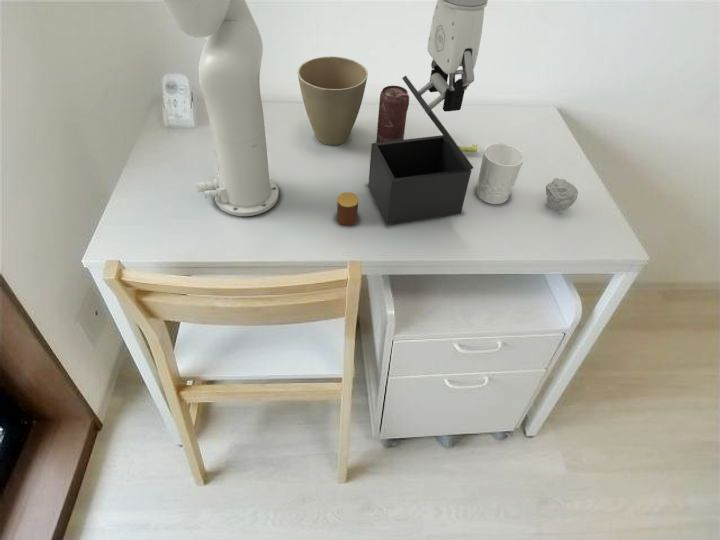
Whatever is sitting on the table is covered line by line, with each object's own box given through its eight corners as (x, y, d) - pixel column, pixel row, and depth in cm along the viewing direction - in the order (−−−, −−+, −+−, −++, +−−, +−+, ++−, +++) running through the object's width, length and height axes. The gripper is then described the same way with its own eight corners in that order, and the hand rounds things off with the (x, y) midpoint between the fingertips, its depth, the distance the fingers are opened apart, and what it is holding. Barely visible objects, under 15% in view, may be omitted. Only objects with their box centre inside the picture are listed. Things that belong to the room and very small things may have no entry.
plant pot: (291, 126, 124) (288, 61, 113) (349, 116, 129) (351, 52, 117) (312, 160, 115) (311, 93, 103) (373, 148, 119) (379, 83, 108)
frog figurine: (532, 200, 109) (542, 173, 104) (562, 197, 110) (573, 169, 105) (546, 219, 105) (558, 192, 100) (577, 215, 106) (590, 188, 101)
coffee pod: (339, 227, 100) (340, 207, 96) (334, 213, 103) (334, 193, 99) (360, 224, 101) (361, 204, 97) (354, 211, 104) (355, 191, 100)
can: (401, 157, 117) (408, 100, 107) (373, 153, 118) (378, 95, 108) (405, 143, 122) (412, 86, 111) (378, 139, 122) (383, 82, 112)
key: (478, 157, 119) (480, 149, 118) (426, 158, 118) (427, 150, 116) (470, 139, 124) (472, 132, 122) (420, 141, 123) (421, 133, 121)
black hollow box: (386, 225, 101) (391, 181, 94) (368, 185, 110) (371, 143, 102) (460, 213, 105) (471, 171, 97) (437, 176, 113) (445, 134, 106)
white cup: (465, 191, 110) (475, 151, 103) (489, 178, 114) (501, 138, 106) (494, 211, 106) (507, 170, 99) (518, 197, 110) (532, 156, 102)
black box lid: (427, 114, 85) (455, 91, 84) (402, 78, 94) (427, 56, 92) (470, 170, 97) (495, 151, 95) (444, 133, 105) (467, 116, 104)
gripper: (421, -28, 84) (407, 79, 97) (464, 14, 73) (442, 128, 86) (464, -29, 85) (445, 76, 99) (512, 11, 74) (483, 123, 87)
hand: (444, 99), depth 92 cm, fingers closed on black box lid, 6 cm apart
